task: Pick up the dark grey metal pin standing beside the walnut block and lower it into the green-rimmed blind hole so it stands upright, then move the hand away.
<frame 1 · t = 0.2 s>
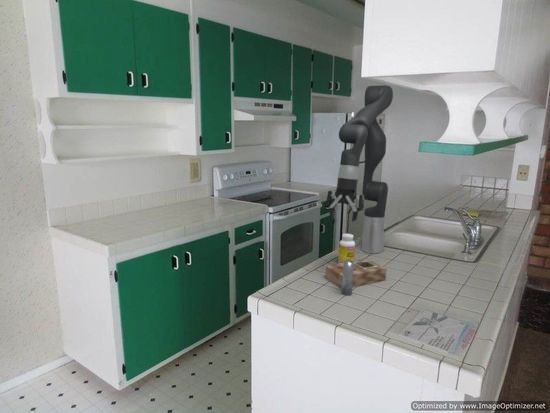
hand: (342, 219, 152), 23 cm above the counter, tool pointing down, fingers open, 8 cm apart
pin: (346, 293, 142), on the counter
supplement bottle: (345, 264, 171), on the counter
bore block: (355, 279, 154), on the counter
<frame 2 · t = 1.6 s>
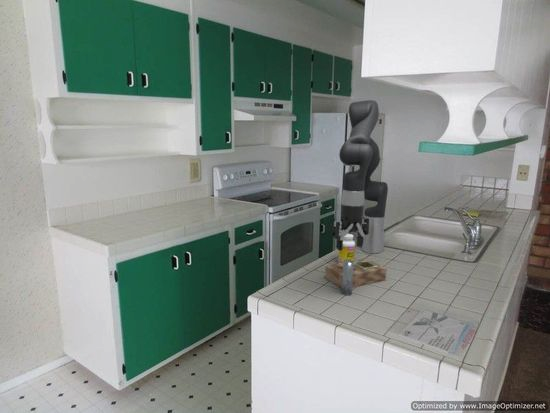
hand: (349, 248, 138), 17 cm above the counter, tool pointing down, fingers open, 8 cm apart
nothing on the counter moved.
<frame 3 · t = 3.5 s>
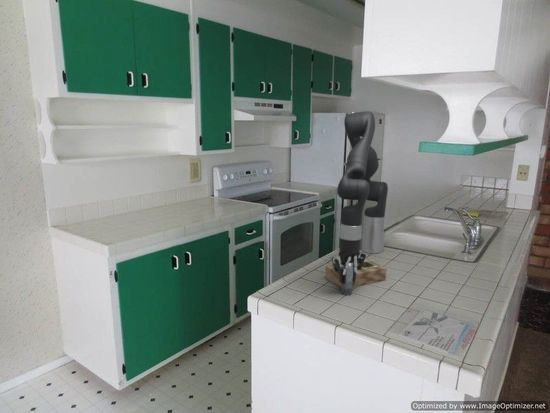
hand: (347, 282, 141), 4 cm above the counter, tool pointing down, fingers closed on pin, 3 cm apart
pin: (346, 293, 142), on the counter, touching gripper
everything else where it was.
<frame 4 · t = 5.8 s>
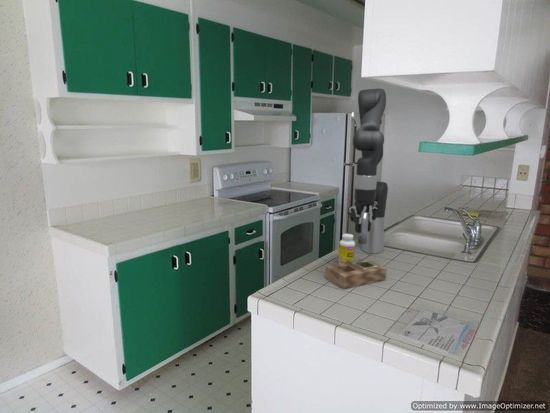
hand: (362, 231, 147), 20 cm above the counter, tool pointing down, fingers closed on pin, 3 cm apart
pin: (362, 242, 148), point 16 cm above the counter, touching gripper
everything else where it was.
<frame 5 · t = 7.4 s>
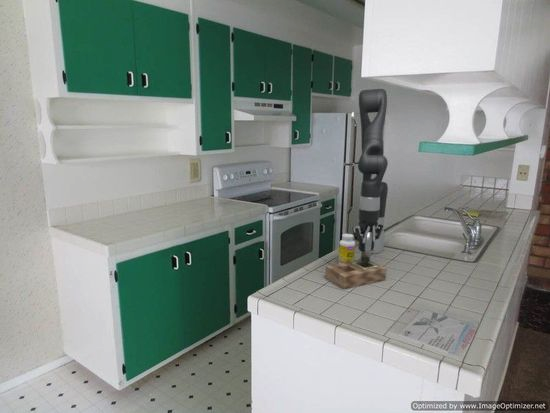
hand: (366, 250, 154), 11 cm above the counter, tool pointing down, fingers closed on pin, 3 cm apart
pin: (365, 260, 155), point 7 cm above the counter, touching gripper
everything else where it was.
when the fingers open (7 cm above the counter, at t = 8.6 s): pin drops 1 cm, resting on bore block.
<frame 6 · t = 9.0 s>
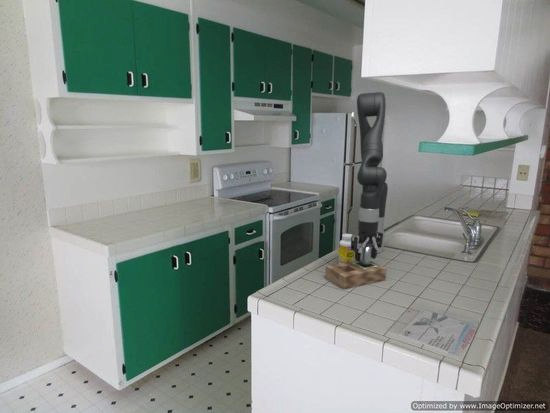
hand: (365, 259, 155), 7 cm above the counter, tool pointing down, fingers open, 7 cm apart
pin: (364, 274, 156), point 1 cm above the counter, touching bore block
everything else where it was.
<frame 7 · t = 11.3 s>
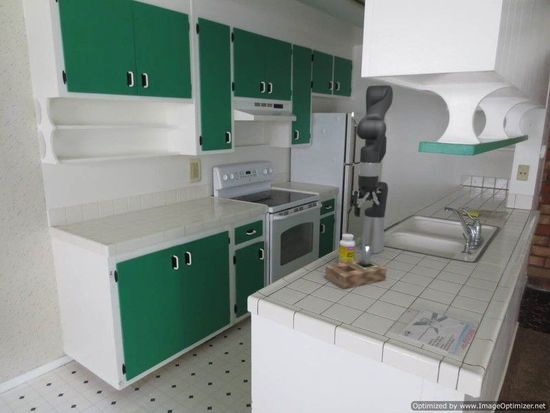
hand: (365, 215, 154), 25 cm above the counter, tool pointing down, fingers open, 8 cm apart
nothing on the counter moved.
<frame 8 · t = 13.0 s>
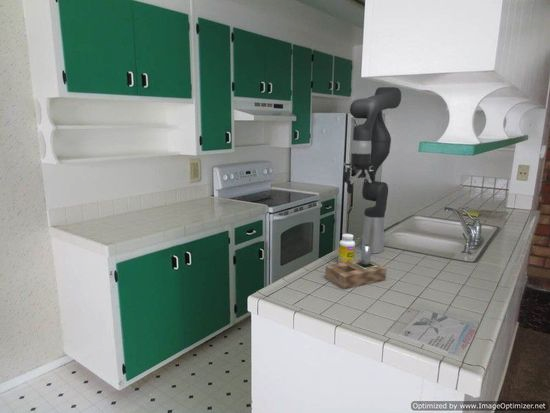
hand: (358, 192, 159), 32 cm above the counter, tool pointing down, fingers open, 8 cm apart
nothing on the counter moved.
at the end: pin 0.1 cm from the target spot on the bore block, point 1.0 cm above the bore block's base; pin tilted 1°; the gripper is holding nothing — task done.
